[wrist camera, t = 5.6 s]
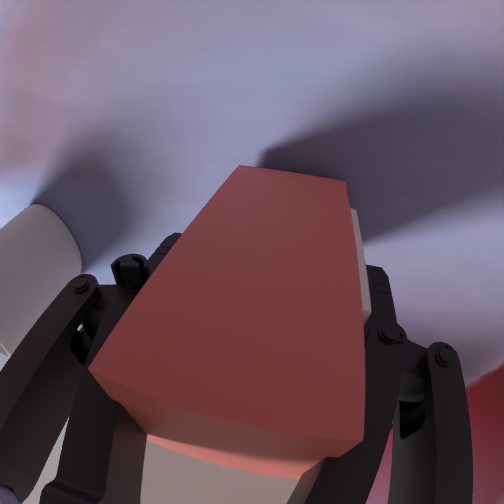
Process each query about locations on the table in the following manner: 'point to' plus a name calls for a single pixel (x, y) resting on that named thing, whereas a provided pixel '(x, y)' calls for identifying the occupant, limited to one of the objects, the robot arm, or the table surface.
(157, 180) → the table surface
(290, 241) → the red mallet
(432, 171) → the table surface
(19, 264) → the mug
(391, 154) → the table surface
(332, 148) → the table surface
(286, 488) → the cabinet
